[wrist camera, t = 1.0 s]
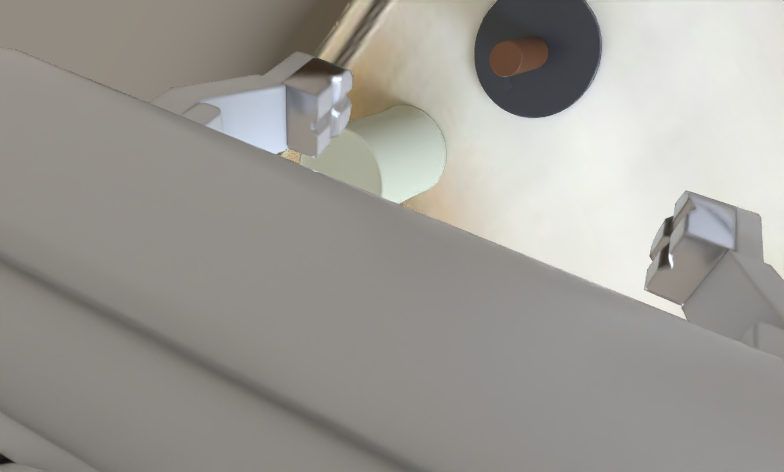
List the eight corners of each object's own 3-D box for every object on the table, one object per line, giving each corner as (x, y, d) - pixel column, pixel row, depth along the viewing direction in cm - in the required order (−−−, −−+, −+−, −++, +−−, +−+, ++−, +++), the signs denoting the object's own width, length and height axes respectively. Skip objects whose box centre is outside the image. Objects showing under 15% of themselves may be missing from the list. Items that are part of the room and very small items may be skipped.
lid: (520, -44, 45) (486, -50, 40) (631, 28, 43) (611, 32, 37) (456, 72, 52) (419, 80, 46) (550, 141, 49) (522, 158, 44)
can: (357, 123, 59) (280, 146, 50) (426, 90, 54) (353, 109, 44) (389, 203, 61) (319, 240, 51) (460, 179, 55) (396, 216, 46)
